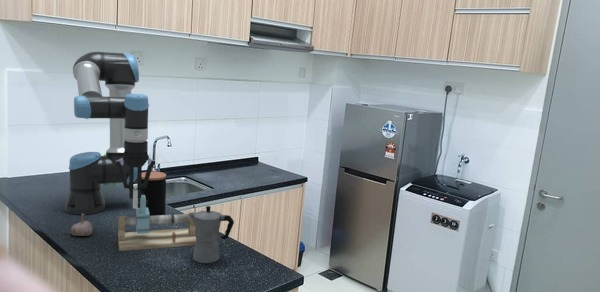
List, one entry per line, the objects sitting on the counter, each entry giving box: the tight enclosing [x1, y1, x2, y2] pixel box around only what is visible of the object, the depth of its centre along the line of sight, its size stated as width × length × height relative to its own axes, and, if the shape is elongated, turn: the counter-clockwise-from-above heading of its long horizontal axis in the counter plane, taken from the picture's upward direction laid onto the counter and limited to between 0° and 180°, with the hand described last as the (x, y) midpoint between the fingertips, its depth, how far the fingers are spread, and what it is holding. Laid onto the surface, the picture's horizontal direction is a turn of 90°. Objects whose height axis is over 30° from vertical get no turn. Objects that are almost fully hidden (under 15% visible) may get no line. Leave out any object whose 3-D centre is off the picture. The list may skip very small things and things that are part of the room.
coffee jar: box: [138, 171, 167, 216], centre depth 189 cm, size 11×11×18 cm
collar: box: [135, 195, 150, 234], centre depth 164 cm, size 7×4×12 cm, turn 22°
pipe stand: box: [117, 211, 197, 252], centre depth 167 cm, size 13×26×10 cm, turn 112°
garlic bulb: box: [70, 214, 94, 237], centre depth 168 cm, size 8×7×8 cm
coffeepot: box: [188, 205, 235, 264], centre depth 156 cm, size 15×9×18 cm, turn 82°
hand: (135, 207), depth 162 cm, fingers closed
